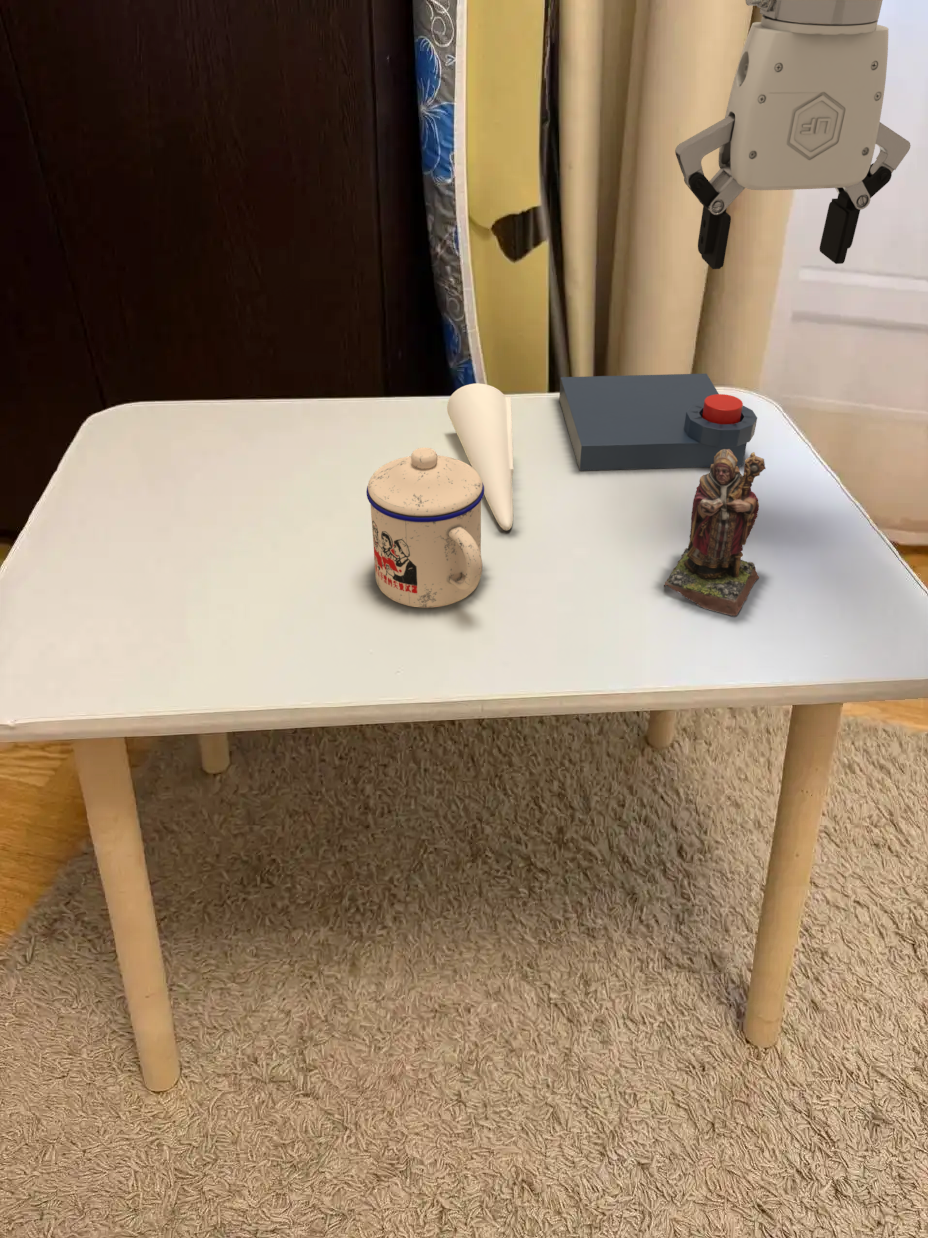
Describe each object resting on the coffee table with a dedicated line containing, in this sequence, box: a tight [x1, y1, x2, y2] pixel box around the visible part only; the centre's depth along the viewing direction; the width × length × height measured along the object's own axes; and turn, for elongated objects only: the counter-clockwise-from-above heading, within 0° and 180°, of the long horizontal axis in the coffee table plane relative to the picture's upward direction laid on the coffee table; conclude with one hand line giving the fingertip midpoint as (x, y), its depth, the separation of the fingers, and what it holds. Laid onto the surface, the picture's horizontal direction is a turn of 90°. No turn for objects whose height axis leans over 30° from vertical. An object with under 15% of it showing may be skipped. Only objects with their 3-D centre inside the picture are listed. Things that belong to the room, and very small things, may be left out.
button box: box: [558, 373, 758, 472], centre depth 101 cm, size 17×17×4 cm
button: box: [702, 393, 744, 424], centre depth 95 cm, size 4×4×2 cm
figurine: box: [663, 449, 766, 617], centre depth 77 cm, size 6×6×12 cm
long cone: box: [446, 382, 514, 531], centre depth 94 cm, size 6×6×19 cm
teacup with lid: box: [366, 447, 485, 609], centre depth 77 cm, size 12×9×12 cm
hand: (771, 260), depth 76 cm, fingers open, 9 cm apart
